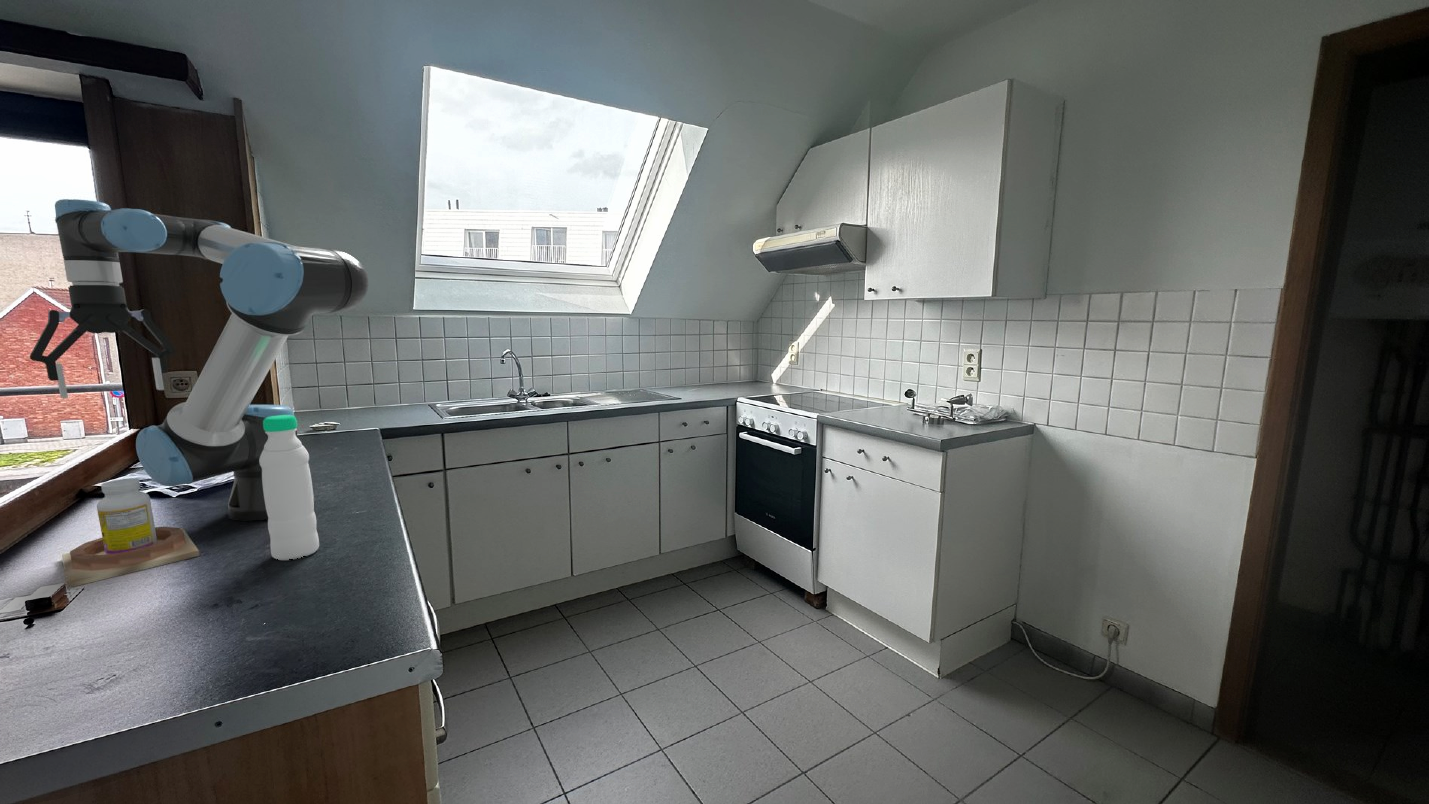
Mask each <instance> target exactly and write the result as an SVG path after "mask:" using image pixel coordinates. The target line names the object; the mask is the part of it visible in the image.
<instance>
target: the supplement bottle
mask: <svg viewBox="0 0 1429 804" xmlns="http://www.w3.org/2000/svg"><path fill="white" fill-rule="evenodd" d="M100 487H101V492H102V493H103V494H104V497H103V498H102V499H100V500H98V502H97V504H96V510H97V516H98V523H99V525H100V531H101V538H103V544H104V549H105V553H106V554H114V553H122V552H126V551H131V550H135V549H140V548H144V547H147V546H150V545H153V544H156V543H157V536H156V530H155V527H156V525H155V521H154V514H153V510H152V508H153V507H152V501H151V497H150V495H149V494H148V493H146V492H143V491H140V487H141V483H140V479H139V478H134V477H131V478H129V477H128V478H121V479H115V480H111V481H106V482H104V483H102V484H101V486H100Z"/></svg>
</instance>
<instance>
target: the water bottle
mask: <svg viewBox="0 0 1429 804" xmlns="http://www.w3.org/2000/svg"><path fill="white" fill-rule="evenodd" d="M263 427H264V430H265V431H266V432H265V433H266V434H267V435H268V440H267V442H266V443H265V445H264V450H263V451H262V453H261V456H260V459H259V463H260V466H261V467H262V484H263V493H264V500H265V506H266V511H267V515H268V518H269V519H267V529H268V530H267V531H268V534H269V537H270V542H269V544H270V553H271V556H272V558H273V559H276V560H277V559H278V560H279V561H290V560H289V559H293V560H298V559H301V557H302V558H304V557H303V556H306V557H308V556H310V555H312V554H314V553H315V552H316V551H317V550H318V549H319V547H320V539H319V534H318V531H317V516H316V513H315V511H314V510H315V509H314V508H315V506H314V504H315V503H314V501H315V498H314V499H313V493H314V489H313V488H314V487H313V482H312V481H313V480H312V474H311V470H310V464H309V460H310V454H309V452H308V450H307V449H306V448H305V446H304V445H303V444H302V441H301V440H300V439H299V438H298V436H297V437H296V435H295V431H296V430H297V431H298V428H297V427H298V421H297V417H296V416H295V415H294V416H292V415H278V416H271V417H267V418H265V419H264V420H263ZM296 428H297V429H296ZM297 558H298V559H297Z"/></svg>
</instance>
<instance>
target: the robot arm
mask: <svg viewBox="0 0 1429 804" xmlns="http://www.w3.org/2000/svg"><path fill="white" fill-rule="evenodd" d="M54 211H55V217H54V218H55V219H54V221H55V224H56V228H57V229H56V230H57V233H58V238H59V244H60V247H61V248H60V249H61V254H62V258H63V265H64V271H65V276H66V281H67V282H68V283H71V285H69V287H67V288H68V294H69V298H70V299H69V301H70V307H71V308H70V311H62V310H61V311H59V310H55V309H51V310H48V312H47V319H48V320H47V321H48V322H47V323H46V325H45V327H44V329H43V331H42V332H41V335H40V336H39V338H38V340H37V342H36V344H35V345H34V347H33V349H32V351H31V353H29V354H30V355H29V359H30V360H31V361H33V362H39V363H43V364H45V369H46V374H47V378H48V379H49V381H50V382H56V381H57V386H58V391H59V395H60V396H59V397H60V398H61V399H68V398H69V396H68V390H67V385H66V384H67V383H66V380H65V375H64V374H65V373H64V369H63V364H62V363H61V362H57V361H58V360H59V359H60V357H62V356H63V355H64V354H65V353H66V352H68V350H69V349H70V348H71V347H72V346H73V345H74V344H75V343H76V342H77V341H78V340H79V339H80V338H81V337H83V335H85V333H87V332H88V333H91V334H102V333H110V334H114V333H115V334H116V333H118V332H120V331H121V332H122V333H124V334H126V335H127V336H128V337H130V338H131V339H132V340H134V341H136V342H137V343H138V344H139V345H141V346H142V347H143V348H145V349H146V350H147V351H149V352H150V353H151V354H153V355H154V356H156V357H151V363H152V368H153V374H154V381H155V388H156V390H157V391H164V390H165V386H164V379H163V374H168V371H169V367H168V361H167V359H168V358H167V357H169V356H171V355H175V354H177V353H178V350H177V348H176V347H175V346H174V345H173V343H172V342H171V341H170V340H169V339H168V338H167V336H166V335H165V334H164V333H163V332H162V330H161V329H160V328H159V327H158V325H156V323H155V322H154V321H153V319H152V316H151V313H150V310H148V309H140V310H132V311H130V310H129V308H128V306H127V300H126V293H125V288H124V287H123V286H122V285H120V284H122V283H123V282H124V280H123V275H122V269H121V263H120V257H119V255H120V254H119V253H141V254H142V253H143V254H144V253H145V254H154V255H155V254H157V255H173V256H186V257H187V256H188V257H194V258H200V259H203V260H207V261H211V262H215V263H218V264H222V266H221V268H220V271H219V278H221V279H222V282H220V283H219V286H220V290H221V294H222V295H223V297H224V299H225V301H226V302H225V303H226V306H227V308H228V311H230V313H231V314H230V316H229V319H228V320H227V321H226V325H224V328H223V330H222V332H221V333H220V336H219V338H218V339H217V341H216V343H215V346H214V347H213V349H212V351H211V352H210V355H209V357H208V359H207V360H206V362H205V365H204V367H203V369H202V370H201V373H200V374H199V376H198V378H197V380H196V382H195V383H194V385H193V388H192V390H191V391H190V393H189V395H188V398H187V400H186V401H185V402H180V403H179V404H176V405H175V406H173V407H172V408H171V409H170V410H169V412H168V413H167V415H166V417H165V418H164V420H163V422H162V423H161V424H160V425H150V426H148V427H144V428H143V429H141V430H140V431H139V432H138V434H137V436H136V438H135V439H136V440H135V449H136V454H137V457H138V460H139V463H140V465H141V466H142V468H143V470H144V472H146V473H147V475H148V476H149V477H150V479H152V480H153V481H154V482H156V483H158V484H159V485H161V486H164V487H177V486H180V485H181V486H182V485H191V484H193V483H196V482H199V481H203V480H207V479H211V478H214V477H218V476H222V475H226V474H229V473H232V472H233V479H234V480H233V485H232V488H231V492H230V495H229V499H228V503H227V515H228V518H229V519H231V520H234V521H241V522H242V521H243V522H245V521H251V522H252V521H263V520H268V519H269V518H268V515H267V511H266V506H265V500H264V493H263V484H262V467H261V466H260V463H259V459H260V456H261V453H262V451H263V450H264V445H265V443H266V442H267V440H268V435H267V434H266V433H265V432H266V431H265V430H264V427H263V420H264V419H265V418H267V417H271V416H278V415H292V416H295V413H294V412H295V411H294V410H293V409H292V408H291V407H290V406H287V405H283V404H251V403H252V401H253V399H254V397H255V396H256V394H257V392H258V390H259V389H260V387H261V385H262V384H263V382H264V380H265V378H266V376H267V375H268V373H269V371H270V369H271V368H272V366H273V365H274V362H275V360H276V358H277V356H278V355H279V353H280V351H281V349H283V346H284V344H286V340H287V339H288V337H290V336H296V335H298V334H301V333H302V332H303V331H304V330H305V328H306V326H307V325H308V323H309V322H310V319H311V318H312V316H313V315H315V314H333V313H334V314H336V313H342V312H347V311H350V310H352V309H353V308H355V307H358V305H359V304H361V302H362V301H363V300H364V298H365V297H366V295H367V293H368V290H369V277H368V274H367V271H366V269H365V268H364V266H363V264H362V263H361V262H360V261H359V260H358V259H356V257H354V256H353V255H351V254H349V253H347V252H344V251H341V250H338V249H332V248H323V247H313V246H311V247H310V246H299V245H293V244H289V243H286V242H284V241H283V242H282V241H278V240H276V239H272V238H267V237H264V236H261V235H258V234H255V233H254V234H253V233H250V232H247V231H242V230H239V229H237V228H232V227H231V226H230V225H229V224H227V223H225V222H220V221H216V220H211V219H198V218H197V219H196V218H190V217H189V218H188V217H179V216H174V215H165V214H157V213H151V212H150V211H147V210H144V209H139V208H128V207H124V208H122V207H121V208H119V209H118V208H116V209H112V208H111V207H110V205H109V204H107V203H105V202H103V201H96V200H88V199H76V198H75V199H69V198H67V199H66V198H64V199H63V198H62V199H59V200H57V201H55V203H54ZM132 317H133V318H135V319H136V320H137V321H138V322H142V323H143V325H144V326H145V327H146V329H147V330H148V331H149V333H151V334H152V335H153V336H154V338H155V339H156V341H158V343H159V344H160V345H161V347H163V350H162V349H161V348H159V347H158V346H156V345H155V344H154V343H152V342H151V341H150V340H148V339H147V338H146V337H144V336H143V335H142V334H140V333H139V332H137V331H136V330H135V329H134V328H132V327H131V326H130V325H128V324H127V323H128V322H129V321H130V320H131V319H132ZM68 318H70V319H71V320H72V321H73V322H75V323H76V324H77V326H76V327H75V328H73V330H72V331H71V332H70V333H69V334H68V335H67V336H66V337H65V338H64V339H63V340H62V341H61V342H60V343H59V344H58V345H57V346H56V347H55V348H54V349H52V351H51V352H50V353H49V354H48V355H44V353H45V351H46V349H47V347H48V345H49V344H50V341H51V340H52V338H53V336H54V335H55V333H56V330H57V329H58V327H59V324H60V323H64V322H66V319H68ZM296 429H297V430H296V431H295V435H296V437H297V438H298V428H296ZM313 499H314V504H315V494H314V492H313Z"/></svg>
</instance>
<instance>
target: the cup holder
mask: <svg viewBox="0 0 1429 804" xmlns="http://www.w3.org/2000/svg"><path fill="white" fill-rule="evenodd" d="M155 530H156V536H157V543H156V544H153V545H150V546H147V547H144V548H140V549H135V550H131V551H126V552H122V553H114V554H106V553H105V549H104V544H103V538H102V537H99V538H96V539H92V540H90V541H87V542H84V543H82V544H80V545H79V546H77V547H75V548H73V549H71V550H70V551H69V552H68V553H64V554H61V556H62V557H61V558H62V562H63V570H64V574H65V580H66V581H65V582H66V585H67V586H68V587H70V588H74V587H77V586H81V585H86V584H89V583H93V582H98V581H102V580H106V579H110V578H114V577H117V576H122V575H126V574H131V573H134V572H138V571H143V570H147V569H151V568H156V567H158V566H163V565H167V564H168V565H169V564H171V563H175V562H180V561H183V560H184V561H185V560H188V559H192V558H195V557H196V558H197V557H200V550H199V549H198V547H197V546H196V545H195V543H194V542H193V540H192V539H191V538H190V536H189V535H188V534H187V532H186V531H185V529H184V528H181V527H175V526H174V527H173V526H155ZM67 586H66V587H67ZM68 587H67V588H68Z"/></svg>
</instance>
